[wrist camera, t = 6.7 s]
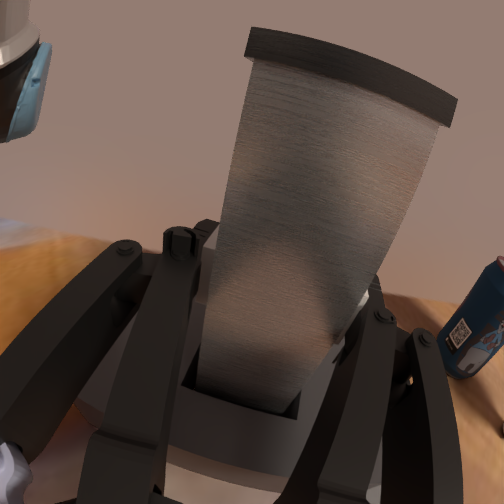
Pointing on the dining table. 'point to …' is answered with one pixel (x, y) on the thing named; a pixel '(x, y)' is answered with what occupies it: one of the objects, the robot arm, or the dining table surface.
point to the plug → (308, 209)
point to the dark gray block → (224, 419)
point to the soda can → (475, 325)
